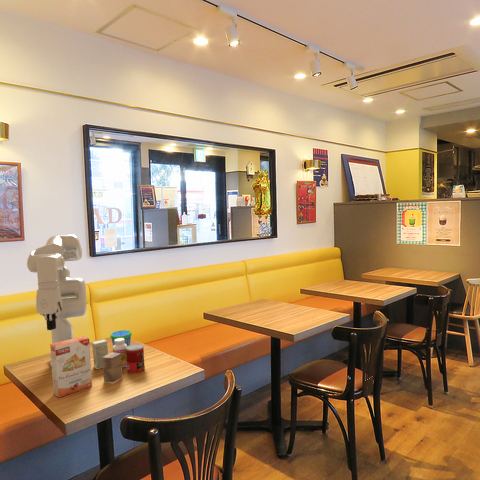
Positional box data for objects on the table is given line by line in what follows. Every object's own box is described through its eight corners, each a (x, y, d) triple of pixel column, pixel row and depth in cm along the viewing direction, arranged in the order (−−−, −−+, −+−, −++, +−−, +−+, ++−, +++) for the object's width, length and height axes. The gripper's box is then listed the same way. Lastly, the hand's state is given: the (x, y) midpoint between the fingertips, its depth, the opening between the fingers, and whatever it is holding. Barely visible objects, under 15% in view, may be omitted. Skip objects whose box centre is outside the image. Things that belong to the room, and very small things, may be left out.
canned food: (140, 373, 179) (138, 349, 178) (123, 373, 180) (122, 349, 179) (147, 367, 186) (146, 344, 185) (131, 366, 188) (130, 343, 187)
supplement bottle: (116, 370, 184) (114, 342, 183) (111, 365, 189) (109, 339, 188) (130, 366, 188) (128, 339, 187) (125, 362, 193) (123, 336, 192)
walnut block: (104, 382, 171) (102, 357, 171) (113, 376, 177) (111, 352, 176) (113, 383, 169) (111, 358, 169) (122, 377, 175) (120, 353, 174)
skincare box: (107, 363, 193) (105, 338, 192) (109, 366, 189) (107, 340, 188) (93, 366, 189) (91, 341, 188) (95, 369, 186) (93, 343, 185)
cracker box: (58, 398, 157) (54, 346, 156) (53, 394, 162) (49, 343, 160) (93, 386, 167) (89, 337, 166) (86, 382, 172) (83, 335, 170)
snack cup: (130, 356, 201) (129, 336, 200) (108, 358, 200) (107, 338, 199) (134, 346, 216) (133, 327, 216) (114, 348, 215) (113, 329, 214)
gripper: (27, 286, 164) (30, 330, 165) (54, 287, 159) (58, 333, 160) (42, 283, 171) (45, 325, 172) (69, 284, 166) (72, 327, 167)
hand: (51, 329), depth 166 cm, fingers closed
